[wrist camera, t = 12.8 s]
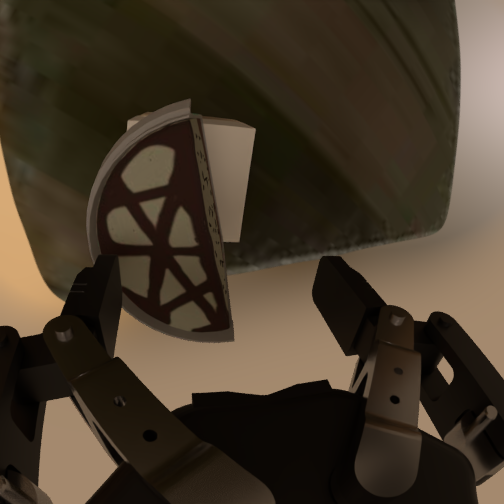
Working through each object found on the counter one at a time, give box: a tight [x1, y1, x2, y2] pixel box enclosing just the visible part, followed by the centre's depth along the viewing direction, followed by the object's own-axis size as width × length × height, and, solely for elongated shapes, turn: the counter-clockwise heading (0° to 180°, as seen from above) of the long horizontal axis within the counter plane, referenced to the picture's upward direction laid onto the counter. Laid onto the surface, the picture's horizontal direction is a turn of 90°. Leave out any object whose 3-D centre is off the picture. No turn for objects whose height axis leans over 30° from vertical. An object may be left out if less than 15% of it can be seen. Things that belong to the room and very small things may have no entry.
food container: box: [86, 99, 234, 343], centre depth 17 cm, size 12×6×10 cm, turn 7°
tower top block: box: [127, 116, 256, 242], centre depth 24 cm, size 9×9×5 cm
